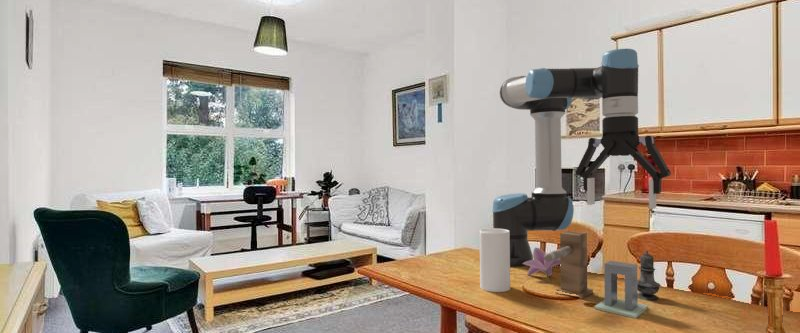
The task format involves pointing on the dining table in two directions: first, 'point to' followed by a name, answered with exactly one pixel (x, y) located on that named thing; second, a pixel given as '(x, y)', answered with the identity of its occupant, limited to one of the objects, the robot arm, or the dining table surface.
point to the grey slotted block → (630, 283)
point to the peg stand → (572, 263)
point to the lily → (541, 263)
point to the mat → (621, 308)
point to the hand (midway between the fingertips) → (620, 206)
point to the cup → (495, 260)
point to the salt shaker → (647, 279)
